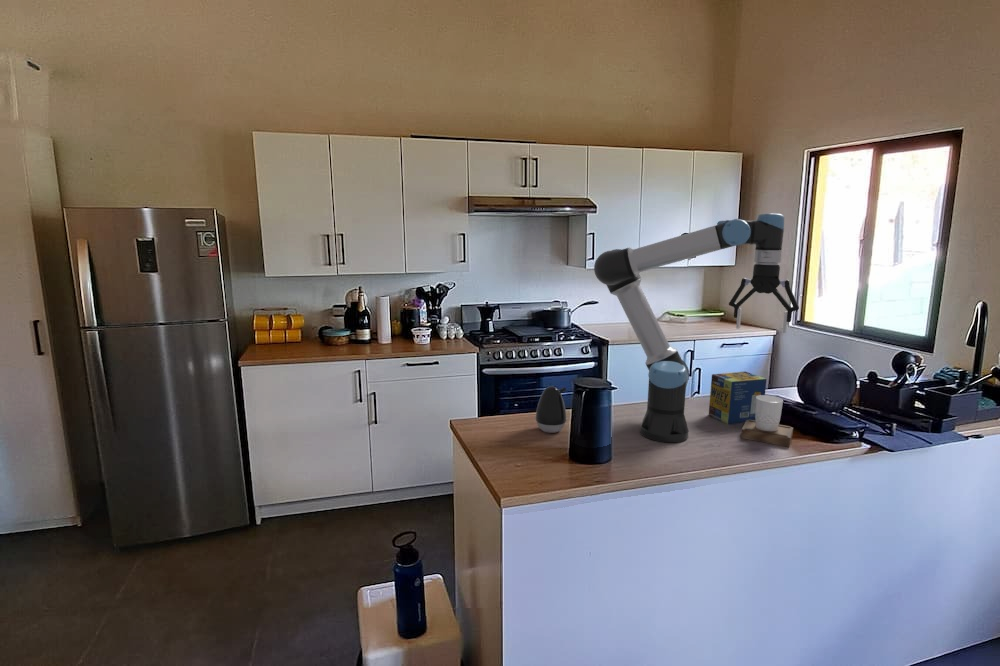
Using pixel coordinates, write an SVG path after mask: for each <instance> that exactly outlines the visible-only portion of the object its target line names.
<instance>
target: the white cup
mask: <svg viewBox="0 0 1000 666" xmlns="http://www.w3.org/2000/svg"><path fill="white" fill-rule="evenodd" d="M783 403H784V400H783V398H780V397H778V396H775V395H768V394H765V395H759V396H756V407H755V419H756V420H755V427H756V428H758V429H760V430H763V431H770V432H773V431H777V430H778V427H779V425H780V421H781V418H782V417H781V416H782V411H783V410H782V409H783Z"/></svg>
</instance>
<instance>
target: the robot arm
mask: <svg viewBox="0 0 1000 666" xmlns="http://www.w3.org/2000/svg"><path fill="white" fill-rule="evenodd" d="M784 231H785V216H784V215H783V214H781V213H760V214H759V215H758V217H757V219H755V220H753V219H752V220H744V219H741V218H733V219H730V220H729V219H725V220H719V221H717V222H716V225H713V226H712V225H711V226H709V227H705V228H703V229H698V230H695V231H692V232H688V233H685V234H681V235H678V236H675V237H671V238H669V239H665V240H662V241H658V242H654V243H652V244H648V245H645V246H640V247H637V248H632V247H631V248H630V247H627V248H623V249H618V248H617V249H612V250H607V251H604V252H602V253H601V254H600V255H599V256H598V257H597V258H596V259H595V261H594V265H593V272H594V274H595V277H596V278H597V280H598V281H599V282H600V283H602V284H604V285H605V286H606V287H607V289H608V291H609V293H610V294H611V295H613V296H616V297H617V299H618V302H619V304H620V305H621V307H622V310H623V312H624V313H625V316H626V317H627V319H628V322H629V324H630V325H631V328H632V329H633V332H634V333H635V336H636V338H637V339H638V342H639V344H640V346H641V347H642V351H643V353H644V354H645V356H646V360H645V366H646V368H647V370H648V374H647V375H648V388H647V389H648V390H647V406H646V407H647V408H646V412H645V414H644V417H643V419H642V421H641V424H640V431H639V432H640V434H641V435H642V436H643V437H644V438H647V439H649V440H652V441H656V442H662V443H663V442H664V443H679V442H684V441H687V439H688V438H689V428H688V427H689V426H688V424H687V420H686V416H685V407H686V406H685V404H686V394H687V393H686V391H687V386H688V383H689V379H690V370H689V367H688V365H687V363H686V362H685V361H684V360H683V359H682V356H681V355H680V353H679V352H678V350H677V348H674V347H671V346H670V344H669V342H668V340H667V337H666V335H665V333H664V331H663V329H662V328H661V325H660V323H659V321H658V320H657V317H656V316H655V315H656V314H654V310H653V309H652V308H651V305H650V304H649V301H648V300H647V298H646V296H645V293H644V292H643V289H642V288H641V287H642V286H641V281H642V277H641V275H640V273H642V272H646V271H649V270H654V269H656V268H659V267H663V266H667V265H671V264H675V263H677V262H682V261H685V260H687V259H688V260H689V259H692V258H696V257H698V256H703V255H706V254H709V253H714V252H716V251H721V250H725V249H728V248H732V247H737V246H740V245H755V247H754V248H755V249H754V257H753V258H754V260H753V262H754V263H755V264H754V265H753V268H752V269H753V271H752V278H751V279H749V278H747V277H744V278H741V281H740V285H739V287H738V288H737V290H736V292H734V295H733V296H732V298H731V299H730V301H729V302H728V306H730V307H732V308H733V310H734V311H733V318H735V319H736V324H735V325H736V326H735V328H736V329H740V328H741V320H742V311H743V309H742V308H743V307H741V306H742V305H743V304H744V303H745V302H746V301H747V300H748V299H749V298H751V296H753V295H754V294H755V293H758V294H768V295H769V294H773V295H774V296H775V297H776V298H777V300H778V301H779V303H780V304H781V305H782V306H783V307H784V308H785V310H786V311H784V315H783V326H782V333H784V334H786V333H787V327H788V326H787V325H788V323H791V321H792V318H793V317H792V316H793V312H797V311H798V310H799V309H800V306H799V303H798V302H797V300H796V297H795V294H794V293H793V290H792V288H791V282H790V280H789V279H786V280H781V279H780V271H781V266H780V263H781V261H782V260H781V259H782V253H783V251H782V250H783V249H782V248H783V240H784ZM749 284H751V286H752V288H751V290H749V291H748V292H747V294H745V295H744V296H743V297H742V298H741V299H740V300H739V301H738V302H737V303H736V301H737V300H738V299H739V297H740V295H741V293H742V292H743V290H744V289H745V287H746V286H748V285H749ZM780 285H781V286H782V288H784V289H785V292H786V294H787V296H788V299H789V301H790V302H791V305H790V304H789V303H788V302H787V300H786V298H785V297H783V295H782V293H780V291H779V290H778V287H779V286H780Z"/></svg>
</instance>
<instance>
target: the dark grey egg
mask: <svg viewBox="0 0 1000 666" xmlns="http://www.w3.org/2000/svg"><path fill="white" fill-rule="evenodd" d="M566 390H567V388H566V387H562V388H560V389H558V388H557V387H555V386H553V385H550V386H547V387H545V388H544V390H543V391H542V393H541V396H540V398H539V400H538V403H537V407H536V411H535V421H536V424H537V427H538V428H539V429H540V430H541V431H542V432H544V433H548V434H554V433H558V432H560V431H562V430H563V428H564V427H565V426H566V425H565V424H566V422H567V410H566V406H565V405H566V404H565V401H564V399H563V396H562V393H564V392H566Z"/></svg>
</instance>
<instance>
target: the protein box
mask: <svg viewBox="0 0 1000 666" xmlns="http://www.w3.org/2000/svg"><path fill="white" fill-rule="evenodd" d="M766 386H767V378H765V377H762V376H760V375H756V374H754V373H751V372H748V371H737V372H725V373H713V374H711V381H710V392H709V407H708V416H709V417H712V418H714V419H717V420H719V421H721V422H722V423H725V424H726V425H729V424H731V425H734V424H741V423H745V422H746V420H756V419H755V407H756V396H759V395H766V389H767V387H766Z"/></svg>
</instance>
